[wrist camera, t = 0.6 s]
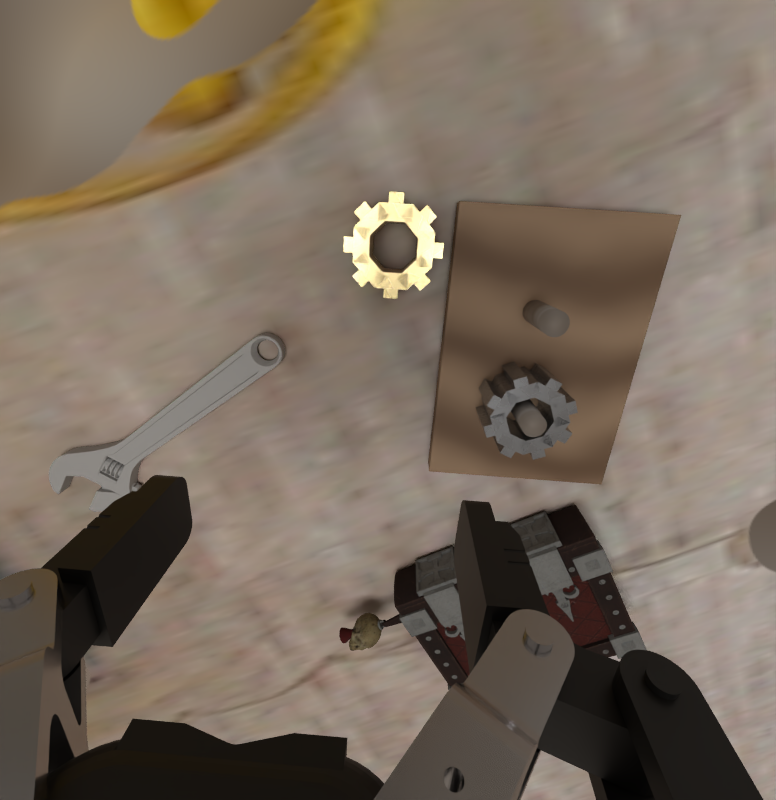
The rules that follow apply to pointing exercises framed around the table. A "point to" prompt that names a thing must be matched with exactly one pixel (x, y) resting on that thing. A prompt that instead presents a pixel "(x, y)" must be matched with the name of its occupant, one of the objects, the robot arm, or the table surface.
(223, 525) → the table surface
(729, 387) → the table surface
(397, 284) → the brass gear
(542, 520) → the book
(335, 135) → the table surface
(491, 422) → the steel gear
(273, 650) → the table surface
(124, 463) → the adjustable wrench
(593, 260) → the gear board
